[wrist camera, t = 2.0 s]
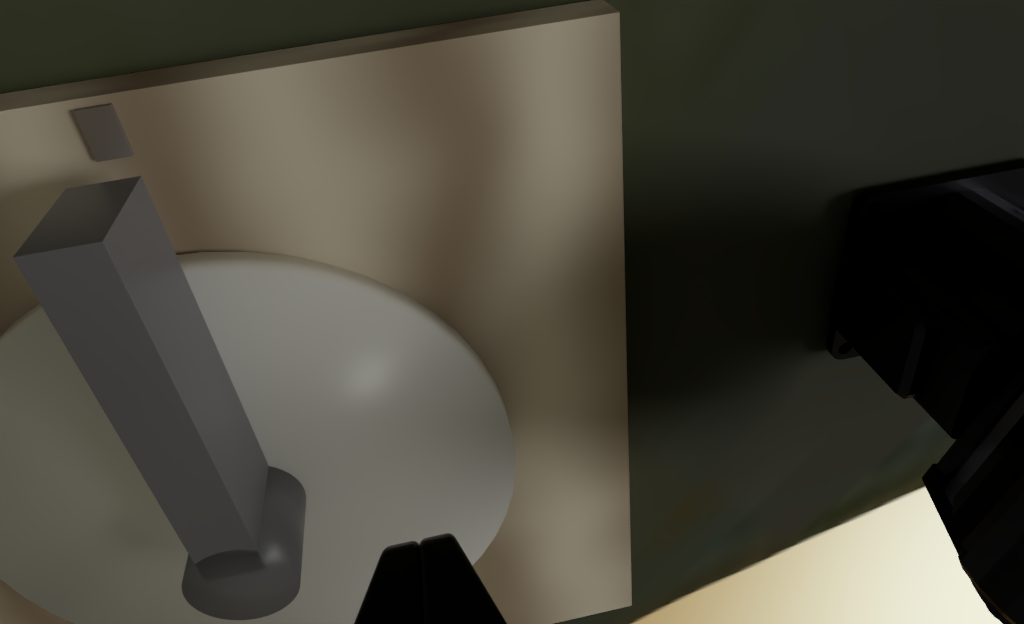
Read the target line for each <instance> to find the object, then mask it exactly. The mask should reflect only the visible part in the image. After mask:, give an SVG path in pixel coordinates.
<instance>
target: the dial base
mask: <svg viewBox="0 0 1024 624" xmlns="http://www.w3.org/2000/svg"><path fill="white" fill-rule="evenodd" d="M137 176H142V179H143V181H144V183H145V185H146V188H147V190H148V192H149V195H150V197H151V199H152V201H153V204H154V206H155V208H156V211H157V213H158V215H159V217H160V220H161V222H162V224H163V226H164V229H165V231H166V233H167V236H168V238H169V240H170V242H171V245H172V247H173V249H174V251H175V254H176V255H182V254H191V253H199V252H255V253H265V254H276V255H286V256H292V257H297V258H302V259H307V260H312V261H316V262H321V263H326V264H331V265H334V266H337V267H340V268H343V269H346V270H349V271H352V272H355V273H358V274H361V275H364V276H367V277H370V278H372V279H374V280H376V281H378V282H381V283H383V284H385V285H387V286H389V287H391V288H394V289H396V290H398V291H400V292H402V293H404V294H406V295H407V296H409V297H410V298H412V299H414V300H415V301H417V302H418V303H420V304H422V305H423V306H425V307H426V308H428V309H430V310H431V311H433V312H434V313H435V314H436V315H438V316H439V317H440V318H441V319H443V320H444V321H445V322H446V323H447V324H449V325H450V326H451V327H452V328H453V329H455V330H456V331H457V332H458V333H459V334H460V335H461V336H462V337H463V338H464V340H465V341H466V342H467V343H468V344H469V345H470V346H471V347H472V348H473V349H474V350H475V352H476V353H477V354H478V355H479V357H480V358H481V360H482V361H483V363H484V364H485V366H486V367H487V369H488V370H489V372H490V373H491V375H492V376H493V378H494V381H495V383H496V385H497V387H498V390H499V392H500V394H501V397H502V399H503V401H504V405H505V409H506V413H507V417H508V421H509V425H510V429H511V433H512V437H513V441H514V446H515V461H516V474H515V482H514V490H513V494H512V498H511V501H510V504H509V507H508V511H507V514H506V516H505V518H504V520H503V522H502V524H501V526H500V528H499V530H498V532H497V534H496V536H495V537H494V539H493V540H492V542H491V543H490V545H489V546H488V547H487V549H486V550H485V552H484V553H483V555H482V556H481V557H480V558H479V559H478V560H477V561H476V562H475V563H474V565H473V568H474V569H475V571H476V573H477V574H478V576H479V578H480V579H481V581H482V583H483V584H484V586H485V588H486V589H487V591H488V593H489V594H490V596H491V598H492V599H493V601H494V603H495V604H496V606H497V608H498V609H499V611H500V613H501V614H502V616H503V618H504V619H505V621H506V623H507V624H553V623H558V622H562V621H566V620H571V619H575V618H579V617H584V616H588V615H593V614H597V613H601V612H606V611H610V610H614V609H619V608H623V607H627V606H632V596H631V547H630V498H629V450H628V401H627V353H626V304H625V256H624V207H623V158H622V110H621V61H620V13H619V11H617V10H616V9H615V8H613V7H612V6H611V5H609V4H608V3H607V2H605V1H604V0H591V1H585V2H579V3H572V4H566V5H560V6H553V7H547V8H541V9H534V10H528V11H522V12H515V13H509V14H503V15H496V16H490V17H484V18H477V19H471V20H465V21H458V22H452V23H446V24H439V25H433V26H427V27H421V28H414V29H408V30H402V31H395V32H389V33H383V34H376V35H370V36H364V37H357V38H351V39H345V40H338V41H332V42H326V43H319V44H313V45H307V46H300V47H294V48H288V49H281V50H275V51H269V52H262V53H256V54H250V55H243V56H237V57H231V58H225V59H218V60H212V61H206V62H199V63H193V64H187V65H180V66H174V67H168V68H161V69H155V70H149V71H142V72H136V73H130V74H123V75H117V76H111V77H104V78H98V79H92V80H85V81H79V82H73V83H66V84H60V85H54V86H48V87H41V88H35V89H29V90H22V91H16V92H10V93H3V94H0V336H1V335H2V334H3V333H4V332H5V331H6V330H7V329H8V328H9V327H10V326H11V325H12V324H13V323H14V322H15V321H16V320H18V319H19V318H20V317H22V316H23V315H24V314H26V313H27V312H28V311H30V310H31V309H33V308H34V307H35V306H37V305H38V304H39V301H38V299H37V298H36V296H35V294H34V293H33V291H32V289H31V287H30V286H29V284H28V282H27V281H26V279H25V277H24V276H23V274H22V272H21V271H20V269H19V267H18V266H17V264H16V262H15V260H14V259H13V256H14V255H15V254H16V252H17V251H18V250H19V249H20V247H21V246H22V245H23V243H24V242H25V241H26V239H27V238H28V237H29V236H30V234H31V233H32V232H33V230H34V229H35V228H36V227H37V225H38V224H39V223H40V221H41V220H42V219H43V217H44V216H45V215H46V214H47V212H48V211H49V210H50V208H51V207H52V206H53V205H54V203H55V202H56V201H57V199H58V198H59V197H60V195H61V194H62V193H63V192H64V190H65V189H66V188H72V187H78V186H84V185H90V184H96V183H102V182H108V181H114V180H119V179H125V178H131V177H137ZM0 624H73V623H71V622H69V621H67V620H64V619H62V618H60V617H58V616H56V615H54V614H52V613H50V612H48V611H46V610H45V609H43V608H41V607H39V606H38V605H36V604H34V603H33V602H31V601H29V600H28V599H26V598H24V597H23V596H22V595H20V594H19V593H18V592H16V591H15V590H14V589H12V588H11V587H10V586H9V585H7V584H6V583H5V582H3V581H2V580H1V579H0Z"/></svg>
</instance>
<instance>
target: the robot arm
mask: <svg viewBox="0 0 1024 624" xmlns="http://www.w3.org/2000/svg"><path fill="white" fill-rule="evenodd" d="M872 203H873V206H872V207H871V208H870V209H869V210H867V211H866V209H867V207H868V206H869V205H870V204H872ZM829 322H830V325H829V331H828V336H827V341H826V349H827V350H828V351H829V352H830V354H831V355H832V356H833V357H834V358H836V359H847V358H852V357H856V356H861V357H862V358H863V359H864V360H865V361H866V362H867V363H868V364H869V365H870V366H871V367H872V369H873V370H874V371H875V372H876V373H877V374H878V375H879V376H880V377H881V378H882V379H883V380H884V381H885V383H886V384H887V385H888V386H889V387H890V388H891V389H892V390H893V391H894V392H895V393H896V394H897V395H899V396H900V397H902V398H903V399H906V398H911V397H913V398H914V399H915V400H916V401H917V402H918V403H919V404H920V405H921V406H922V407H923V408H924V410H925V411H926V412H927V413H928V414H929V415H930V416H931V417H932V418H933V419H934V420H935V421H936V422H937V423H938V424H939V425H940V426H941V427H942V428H943V429H944V430H945V431H946V433H947V434H948V435H949V436H950V437H951V438H953V439H957V440H956V441H955V442H954V443H953V445H952V446H951V447H950V448H949V450H948V451H947V452H946V453H945V455H944V456H943V457H942V458H941V460H940V461H939V462H938V463H937V464H932V466H931V467H930V468H929V469H928V471H927V472H926V473H925V474H924V476H923V477H922V480H923V482H924V484H925V486H926V488H927V490H928V492H929V494H930V497H931V498H932V501H933V503H934V505H935V507H936V509H937V511H938V513H939V515H940V517H941V519H942V521H943V523H944V525H945V527H946V530H947V532H948V534H949V536H950V538H951V540H952V542H953V544H954V546H955V548H956V550H957V553H958V555H959V556H958V557H959V560H960V563H961V565H962V568H963V570H964V571H965V572H966V574H967V575H968V576H969V578H970V579H971V582H972V584H973V585H974V587H975V589H976V591H977V592H978V594H979V596H980V597H981V599H982V600H983V601H984V603H985V604H986V606H987V608H988V609H989V611H990V612H991V613H992V614H993V615H994V616H995V617H996V618H997V619H999V620H1000V621H1001V622H1002V623H1003V624H1024V161H1021V162H1015V163H1010V164H1005V165H999V166H994V167H989V168H983V169H978V170H972V171H967V172H962V173H956V174H951V175H946V176H940V177H935V178H929V179H924V180H919V181H913V182H908V183H903V184H897V185H892V186H887V187H881V188H876V189H870V190H867V191H864V192H862V193H861V194H859V195H858V196H857V197H856V198H855V200H854V201H853V203H852V206H851V210H850V216H849V221H848V227H847V232H846V238H845V243H844V248H843V254H842V259H841V261H840V263H839V268H838V273H837V279H836V284H835V290H834V295H833V301H832V306H831V312H830V317H829ZM842 344H843V345H842ZM841 345H842V346H841ZM354 624H507V623H506V621H505V619H504V618H503V616H502V614H501V613H500V611H499V609H498V608H497V606H496V604H495V603H494V601H493V599H492V598H491V596H490V594H489V593H488V591H487V589H486V588H485V586H484V584H483V583H482V581H481V579H480V578H479V576H478V574H477V573H476V571H475V569H474V568H473V566H472V564H471V563H470V561H469V559H468V558H467V556H466V554H465V553H464V551H463V549H462V548H461V546H460V544H459V543H458V541H457V539H456V538H455V536H454V535H452V534H450V533H446V534H441V535H437V536H432V537H428V538H424V539H423V540H422V541H421V542H420V545H419V544H418V542H416V541H409V542H405V543H400V544H395V545H391V546H388V547H386V548H385V549H384V550H383V552H382V554H381V556H380V558H379V561H378V563H377V566H376V569H375V571H374V574H373V576H372V579H371V581H370V584H369V586H368V589H367V592H366V594H365V597H364V599H363V602H362V604H361V607H360V610H359V612H358V615H357V617H356V620H355V622H354Z"/></svg>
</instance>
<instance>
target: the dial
mask: <svg viewBox="0 0 1024 624" xmlns="http://www.w3.org/2000/svg"><path fill="white" fill-rule="evenodd" d="M13 259H14V260H15V262H16V264H17V266H18V267H19V269H20V271H21V272H22V274H23V276H24V277H25V279H26V281H27V282H28V284H29V286H30V287H31V289H32V291H33V293H34V294H35V296H36V298H37V299H38V301H39V304H38V305H37V306H35V307H34V308H33V309H31V310H30V311H28V312H27V313H26V314H24V315H23V316H22V317H20V318H19V319H18V320H16V321H15V322H14V323H13V324H12V325H11V326H10V327H9V328H8V329H7V330H6V331H5V332H4V333H3V334H2V335H1V336H0V579H1V580H2V581H3V582H5V583H6V584H7V585H9V586H10V587H11V588H12V589H14V590H15V591H16V592H18V593H19V594H20V595H22V596H23V597H24V598H26V599H28V600H29V601H31V602H33V603H34V604H36V605H38V606H39V607H41V608H43V609H45V610H46V611H48V612H50V613H52V614H54V615H56V616H58V617H60V618H62V619H64V620H67V621H69V622H71V623H73V624H354V622H355V620H356V617H357V615H358V612H359V610H360V607H361V604H362V602H363V599H364V597H365V594H366V592H367V589H368V586H369V584H370V581H371V579H372V576H373V574H374V571H375V569H376V566H377V563H378V561H379V558H380V556H381V554H382V552H383V550H384V549H385V548H386V547H388V546H391V545H395V544H400V543H405V542H409V541H416V542H418V544H419V545H420V542H421V541H422V540H423V539H424V538H428V537H432V536H437V535H441V534H446V533H450V534H452V535H454V536H455V538H456V539H457V541H458V543H459V544H460V546H461V548H462V549H463V551H464V553H465V554H466V556H467V558H468V559H469V561H470V563H471V564H472V566H473V565H474V563H475V562H476V561H477V560H478V559H479V558H480V557H481V556H482V555H483V553H484V552H485V550H486V549H487V547H488V546H489V545H490V543H491V542H492V540H493V539H494V537H495V536H496V534H497V532H498V530H499V528H500V526H501V524H502V522H503V520H504V518H505V516H506V514H507V511H508V507H509V504H510V501H511V498H512V494H513V490H514V482H515V474H516V461H515V446H514V441H513V437H512V433H511V429H510V425H509V421H508V417H507V413H506V409H505V405H504V401H503V399H502V397H501V394H500V392H499V390H498V387H497V385H496V383H495V381H494V378H493V376H492V375H491V373H490V372H489V370H488V369H487V367H486V366H485V364H484V363H483V361H482V360H481V358H480V357H479V355H478V354H477V353H476V352H475V350H474V349H473V348H472V347H471V346H470V345H469V344H468V343H467V342H466V341H465V340H464V338H463V337H462V336H461V335H460V334H459V333H458V332H457V331H456V330H455V329H453V328H452V327H451V326H450V325H449V324H447V323H446V322H445V321H444V320H443V319H441V318H440V317H439V316H438V315H436V314H435V313H434V312H433V311H431V310H430V309H428V308H426V307H425V306H423V305H422V304H420V303H418V302H417V301H415V300H414V299H412V298H410V297H409V296H407V295H406V294H404V293H402V292H400V291H398V290H396V289H394V288H391V287H389V286H387V285H385V284H383V283H381V282H378V281H376V280H374V279H372V278H370V277H367V276H364V275H361V274H358V273H355V272H352V271H349V270H346V269H343V268H340V267H337V266H334V265H331V264H326V263H321V262H316V261H312V260H307V259H302V258H297V257H292V256H286V255H276V254H265V253H255V252H199V253H191V254H182V255H176V254H175V251H174V249H173V247H172V245H171V242H170V240H169V238H168V236H167V233H166V231H165V229H164V226H163V224H162V222H161V220H160V217H159V215H158V213H157V211H156V208H155V206H154V204H153V201H152V199H151V197H150V195H149V192H148V190H147V188H146V185H145V183H144V181H143V179H142V176H137V177H131V178H125V179H119V180H114V181H108V182H102V183H96V184H90V185H84V186H78V187H72V188H66V189H65V190H64V192H63V193H62V194H61V195H60V197H59V198H58V199H57V201H56V202H55V203H54V205H53V206H52V207H51V208H50V210H49V211H48V212H47V214H46V215H45V216H44V217H43V219H42V220H41V221H40V223H39V224H38V225H37V227H36V228H35V229H34V230H33V232H32V233H31V234H30V236H29V237H28V238H27V239H26V241H25V242H24V243H23V245H22V246H21V247H20V249H19V250H18V251H17V252H16V254H15V255H14V256H13Z"/></svg>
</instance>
